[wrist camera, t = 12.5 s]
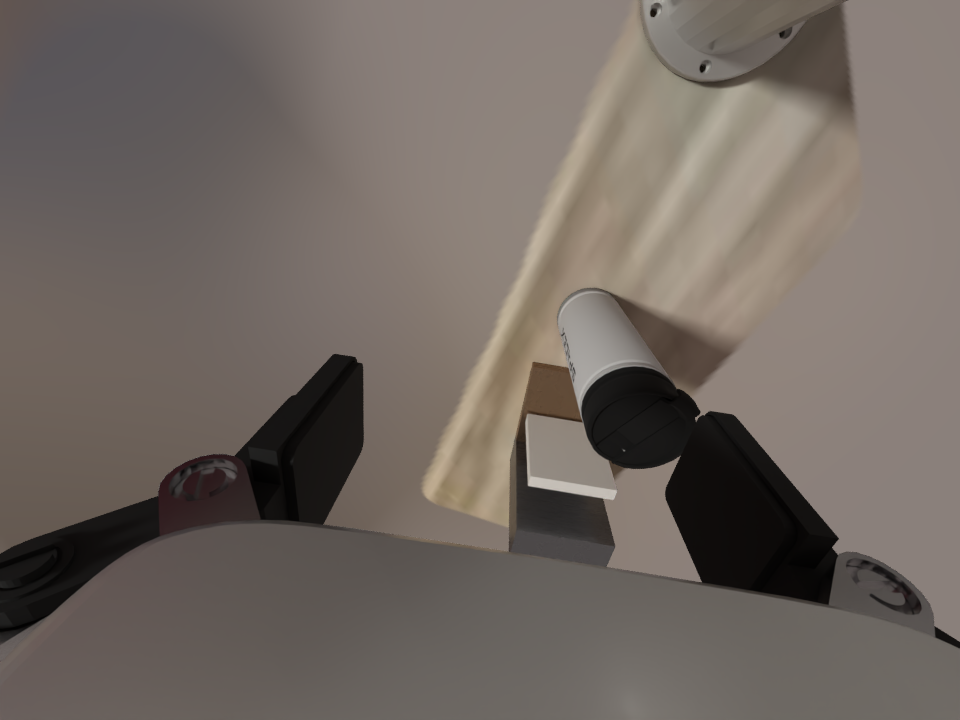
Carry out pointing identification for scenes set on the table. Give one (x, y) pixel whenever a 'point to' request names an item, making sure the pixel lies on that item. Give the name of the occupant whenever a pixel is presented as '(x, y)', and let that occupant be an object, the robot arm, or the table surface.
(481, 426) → the table surface
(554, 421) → the white flat slab
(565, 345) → the travel mug
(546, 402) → the grey bracket
